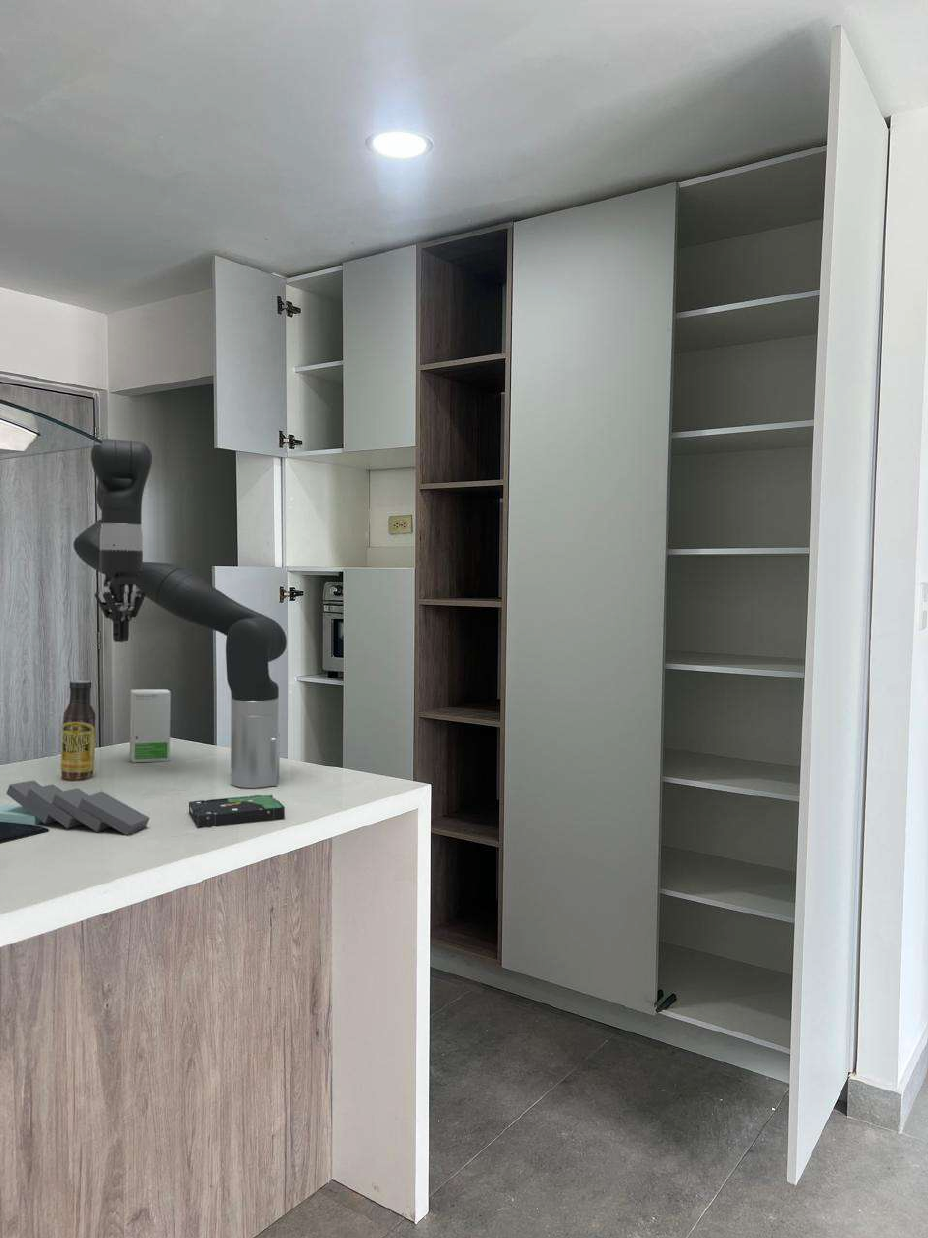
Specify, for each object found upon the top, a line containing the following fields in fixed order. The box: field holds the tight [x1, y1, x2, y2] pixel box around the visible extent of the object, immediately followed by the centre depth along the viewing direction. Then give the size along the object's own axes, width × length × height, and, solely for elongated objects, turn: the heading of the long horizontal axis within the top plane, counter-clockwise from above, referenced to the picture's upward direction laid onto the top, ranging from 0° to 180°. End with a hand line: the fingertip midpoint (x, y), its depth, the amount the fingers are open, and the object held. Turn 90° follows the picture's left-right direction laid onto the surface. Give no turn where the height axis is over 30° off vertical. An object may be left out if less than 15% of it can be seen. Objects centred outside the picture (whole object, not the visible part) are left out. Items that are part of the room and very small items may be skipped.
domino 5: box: [78, 790, 150, 836], centre depth 150 cm, size 2×5×10 cm
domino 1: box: [6, 780, 58, 825], centre depth 155 cm, size 2×5×10 cm
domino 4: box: [52, 787, 112, 833], centre depth 151 cm, size 2×5×10 cm
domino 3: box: [26, 784, 84, 829], centre depth 153 cm, size 2×5×10 cm
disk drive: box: [188, 794, 286, 829], centre depth 159 cm, size 10×3×15 cm
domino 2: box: [0, 804, 43, 826], centre depth 155 cm, size 2×5×10 cm
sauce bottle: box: [60, 679, 96, 781], centre depth 185 cm, size 7×6×20 cm
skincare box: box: [129, 688, 172, 764], centre depth 204 cm, size 8×7×16 cm
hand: (121, 641), depth 170 cm, fingers closed
